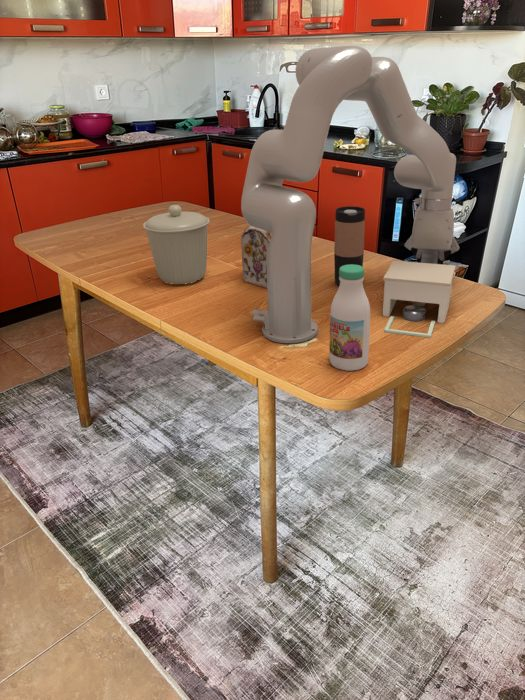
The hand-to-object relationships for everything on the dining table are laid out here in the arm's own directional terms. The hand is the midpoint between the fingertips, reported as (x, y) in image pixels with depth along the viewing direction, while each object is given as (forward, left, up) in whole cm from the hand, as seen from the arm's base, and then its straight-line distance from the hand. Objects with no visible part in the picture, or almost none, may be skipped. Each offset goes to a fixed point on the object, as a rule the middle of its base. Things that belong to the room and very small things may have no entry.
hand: (429, 271), depth 150 cm
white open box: (0, -21, -2) cm, 21 cm away
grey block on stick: (0, -8, -2) cm, 8 cm away
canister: (-66, -18, -3) cm, 68 cm away
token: (0, -26, -2) cm, 26 cm away
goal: (0, -32, -2) cm, 32 cm away
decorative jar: (-41, -12, -3) cm, 43 cm away
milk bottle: (-9, -52, -2) cm, 52 cm away
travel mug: (-20, -9, -2) cm, 22 cm away
